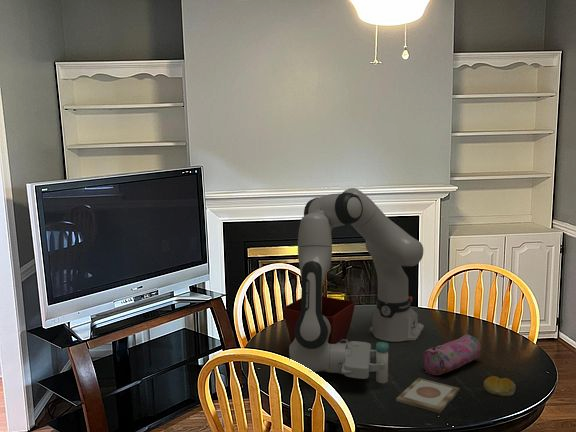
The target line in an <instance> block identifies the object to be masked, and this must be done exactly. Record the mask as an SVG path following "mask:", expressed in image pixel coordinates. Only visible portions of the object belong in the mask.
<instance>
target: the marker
mask: <svg viewBox="0 0 576 432" xmlns="http://www.w3.org/2000/svg"><path fill="white" fill-rule="evenodd" d="M389 347H390V346H389V343H388V342H387V341H377V342H376V343H375V350H376V357H375V359H376V362H375V364H379V363H385V370H378V371H375V372H376V373H375V376H376V377H375V381H376V382H377V383H379V384H386V383H388V382H389V349H390V348H389Z"/></svg>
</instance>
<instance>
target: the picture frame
mask: <svg viewBox="0 0 576 432" xmlns="http://www.w3.org/2000/svg"><path fill="white" fill-rule="evenodd" d="M460 391H461V390H460V387H456V386H452V385H448V384H446V383H445V384H444V383H440V382H436V381H433V380H428V379H425V378H421V377H418V378H416V379H415V380H414V382H412V383H411V384H410V385H409V386H408V387H407V388H406V389H404V390H403V392H401V393H400V394H399V395H398V396H397V397H396V399H395V400H396V403H400V404H401V403H402V404H404V405H407V406H412V407H416V408H420V409H423V410H426V411H429V412H433V413H437V414H441V412H442V411H443V410H445V408H446V407H448V404H450V403H451V401H452V400H453V399H454V398H455V397H456V396H457V395H458V394H459V393H460Z"/></svg>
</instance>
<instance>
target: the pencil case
mask: <svg viewBox="0 0 576 432" xmlns="http://www.w3.org/2000/svg"><path fill="white" fill-rule="evenodd" d="M481 353H482V344H481V342H480V341H479V340H478V339H477V338H476V337H474V336H473V335H470V334H468V333H467V334H464V335H462V336H461V337H460V338H456V339H455V340H451V341H448V342H445V343H443V344H442V345H437V346H435V347H431V348H428V349H427V350H425V351H424V352H423V356H422V357H423V367H424V370H425V372H426V373H427V374H429V375H431V374H432V375H431V376H440V375H443V374H446V373H449V372H451V371H454V370H458V369H459V368H461V367H462V366H464V365H466V364H468V363H471V362H472V361H476V360H477V359H479V358H480V356H481Z"/></svg>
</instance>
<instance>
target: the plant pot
mask: <svg viewBox="0 0 576 432" xmlns="http://www.w3.org/2000/svg"><path fill="white" fill-rule="evenodd" d="M355 304H356V302H355V301H352V300H347V299H342V298H341V299H340V298H337V297H335V298H334V297H330V296H324V295H322V315H324V316H325V317H326V318H327V319H328V320H329V322H330V325H331V333H330V335H329V339H328V343H329V344H336V343H338V342H340V341H341V340H343V339H345V340H347V338H348V335H349V330H350V328H351V324H352V321H353V316H354V311H355V307H356V305H355ZM282 310H283V316H284V321H285V325H286V329H287V333H288V336H289V339H290V341H291V343H292V342H293V341H294V339H295V332H294V331H295V326H296V323H297V321H298V319H299V316H300V313H301V297H300V298H298V299H297V300H295V301H293V302H291V303H289V304H287V305H285V306H283V309H282Z"/></svg>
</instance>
